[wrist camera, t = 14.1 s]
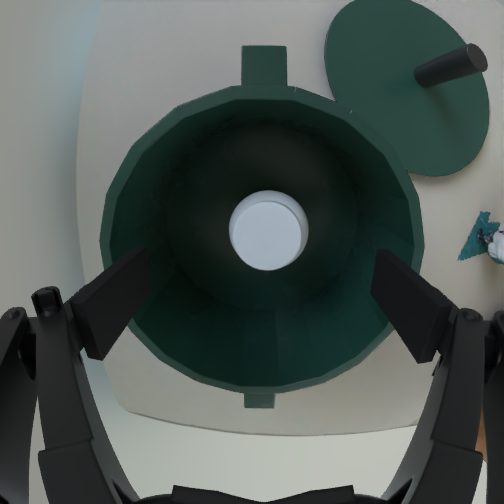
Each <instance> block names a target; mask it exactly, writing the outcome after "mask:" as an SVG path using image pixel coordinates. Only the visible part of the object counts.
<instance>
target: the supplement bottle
mask: <svg viewBox="0 0 504 504" xmlns="http://www.w3.org/2000/svg"><path fill="white" fill-rule="evenodd" d="M308 234H309V226H308V220H307V217H306V214H305V212H304V210H303V209H302V207H301V206H300V205H299V204H298V203H297V202H296V201H295V200H294V199H293V198H292V197H290V196H288V195H286V194H284V193H282V192H278V191H273V190H266V191H259V192H256V193H253V194H251V195H249V196H247V197H246V198H245V199H243V200H242V201H241V202H240V203H239V204H238V205H237V207H236V208H235V210H234V211H233V214H232V216H231V219H230V224H229V236H230V240H231V243H232V246H233V248H234V250H235V251H236V253H237V254H238V255H239V257H240V258H241V259H242V260H243V261H244V262H245V263H246V264H248V265H250V266H251V267H253V268H256V269H259V270H275V269H279V268H281V267H284V266H286V265H288V264H290V263H291V262H293V261H294V260H295V259H296V258H297V257H298V256H299V255H300V254H301V253H302V251H303V250H304V248H305V245H306V243H307V240H308Z"/></svg>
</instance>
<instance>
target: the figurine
mask: <svg viewBox="0 0 504 504" xmlns="http://www.w3.org/2000/svg"><path fill="white" fill-rule="evenodd" d="M489 215H490V212H489V213H488V212H485V213H484V212H483V213H482V211H481V212H480V217H478V220H477V223H476V225H474V228H473V230H472V233H471V234H470V236H469V237H468V242H467V243H466V245H465V247H464V248H463V250H462V251H461V255H459V257H458V260H459V259H460V260H464V258H465V259H467V258H470V257H471V256H475V255H477V254H479V255H480V254H481V253H484V252H488V255H489V256H490V257H491V258H492V259H493V260H494V261H495V262H496V263H498V264H503V265H504V229H500V230H498V228H499V226H500V223H498V222H497V223H494V222H493V224H492V222H491V223H488V220H489V219H488V218H489ZM497 230H498V231H497Z"/></svg>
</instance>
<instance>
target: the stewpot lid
mask: <svg viewBox="0 0 504 504" xmlns="http://www.w3.org/2000/svg"><path fill="white" fill-rule="evenodd" d="M324 60H325V68H326V73H327V77H328V81H329V85H330V87H331V90H332V93H333V95H334V98H335V100H336V102H337V103H339V104H342V105H344V106H346V107H348V108H350V109H351V110H353V111H355V112H356V113H357V114H358V115H359V116H360V117H362V118H363V119H364V120H365V121H366V122H367V123H368V124H369V125H371V126H372V127H373V128H374V129H375V130H376V131H377V132H378V133H379V134H380V135H381V136H382V137H383V138H384V139H385V140H386V141H387V142H388V143H389V144H390V145H392V146H393V148H394V149H395V150H396V152H397V154H398V156H399V158H400V159H401V161H402V163H403V165H404V167H405V169H406V171H409V172H411V173H415V174H419V175H424V176H445V175H449V174H452V173H455V172H457V171H459V170H461V169H463V168H464V167H465V166H467V165H468V164H469V163H470V162H471V161H472V160H473V159H474V158H475V157H476V155H477V154H478V152H479V151H480V149H481V147H482V145H483V143H484V141H485V138H486V134H487V130H488V125H489V99H488V92H487V88H486V84H485V80H484V78H483V75H482V72H484V71H486V70H487V67H488V63H487V59H486V57H485V55H484V53H483V52H482V50H481V49H480V48H479V47H478V46H477V45H475V44H472V43H469V44H467V45H466V43H465V42H464V40H463V39H462V38H461V37H460V36H459V34H458V33H457V32H456V31H455V30H454V29H453V28H452V27H451V26H450V25H449V24H448V23H447V22H446V21H444V20H443V19H442V18H441V17H439V16H438V15H437V14H435V13H434V12H432V11H431V10H429V9H427V8H426V7H424V6H422V5H420V4H418V3H415V2H413V1H411V0H355V1H353V2H350V3H349V4H348V5H346V6H345V7H344V8H342V9H341V11H340V12H339V13H338V14H337V15H336V16H335V18H334V20H333V21H332V23H331V25H330V27H329V30H328V32H327V35H326V41H325V46H324Z"/></svg>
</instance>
